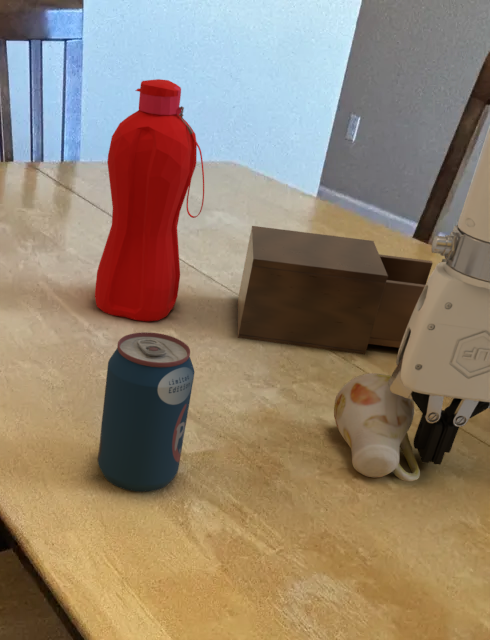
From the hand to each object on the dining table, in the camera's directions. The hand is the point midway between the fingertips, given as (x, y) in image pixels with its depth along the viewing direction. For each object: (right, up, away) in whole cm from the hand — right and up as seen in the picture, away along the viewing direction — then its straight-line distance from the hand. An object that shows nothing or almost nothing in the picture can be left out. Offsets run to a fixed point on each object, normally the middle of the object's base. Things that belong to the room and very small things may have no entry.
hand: (428, 455), depth 80 cm
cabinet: (-6, +18, +25) cm, 32 cm away
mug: (-5, 0, +1) cm, 5 cm away
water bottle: (-25, +20, +26) cm, 41 cm away
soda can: (-27, -2, -5) cm, 28 cm away
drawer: (+7, +17, +24) cm, 30 cm away
